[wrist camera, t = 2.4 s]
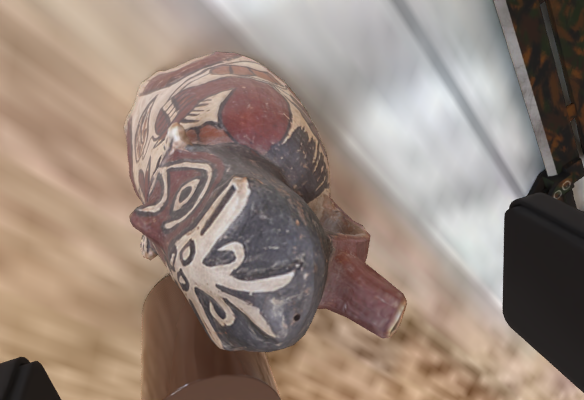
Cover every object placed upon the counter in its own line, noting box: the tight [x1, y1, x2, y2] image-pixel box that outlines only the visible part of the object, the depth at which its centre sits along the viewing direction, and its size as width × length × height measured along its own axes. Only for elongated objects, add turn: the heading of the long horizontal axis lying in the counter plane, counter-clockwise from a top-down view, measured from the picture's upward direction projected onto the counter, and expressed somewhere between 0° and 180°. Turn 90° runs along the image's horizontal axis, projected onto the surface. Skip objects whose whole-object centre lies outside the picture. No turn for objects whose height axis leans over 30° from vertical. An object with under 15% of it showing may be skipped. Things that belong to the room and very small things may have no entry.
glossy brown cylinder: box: [141, 275, 281, 400], centre depth 19 cm, size 5×5×7 cm
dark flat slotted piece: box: [493, 0, 584, 209], centre depth 23 cm, size 25×6×1 cm, turn 26°
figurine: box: [124, 52, 407, 352], centre depth 14 cm, size 7×7×12 cm
